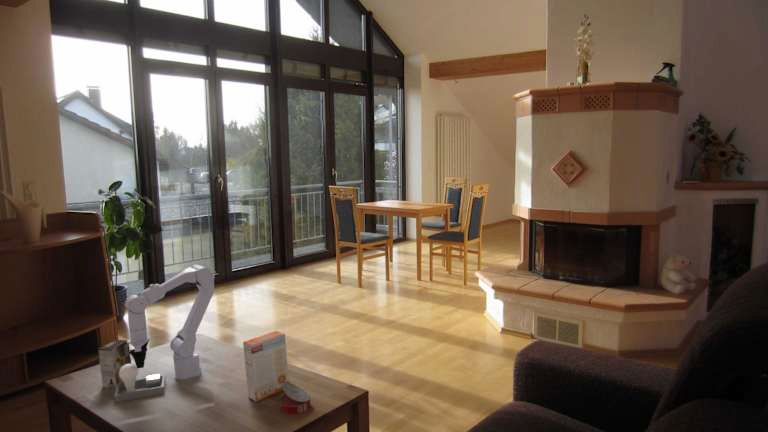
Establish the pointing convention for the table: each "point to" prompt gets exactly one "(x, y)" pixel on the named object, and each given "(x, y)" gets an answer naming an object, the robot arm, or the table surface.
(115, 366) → the coffee box
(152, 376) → the steel block
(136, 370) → the lightbulb
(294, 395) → the canned food
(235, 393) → the table surface
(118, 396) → the tote
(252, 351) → the cracker box
